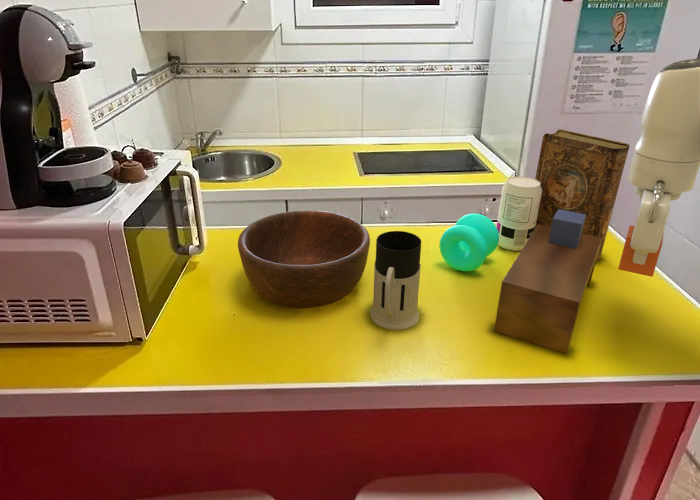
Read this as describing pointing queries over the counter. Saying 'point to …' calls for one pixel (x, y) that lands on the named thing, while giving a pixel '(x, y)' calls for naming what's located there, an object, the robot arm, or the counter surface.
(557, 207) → the book
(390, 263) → the glass holder
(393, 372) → the counter surface
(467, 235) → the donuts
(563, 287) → the shelf
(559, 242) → the slate-blue box
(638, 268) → the orange box
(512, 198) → the supplement can
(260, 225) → the wooden bowl
